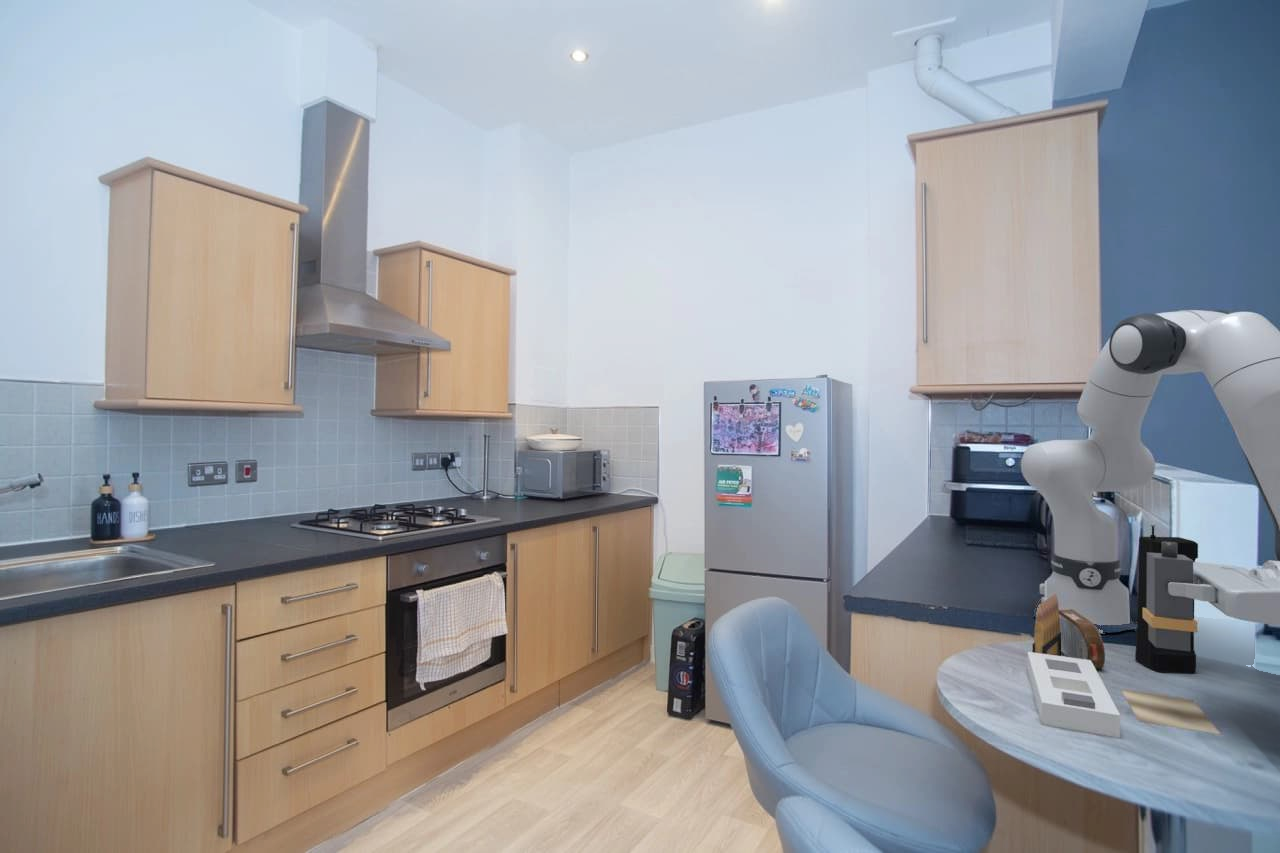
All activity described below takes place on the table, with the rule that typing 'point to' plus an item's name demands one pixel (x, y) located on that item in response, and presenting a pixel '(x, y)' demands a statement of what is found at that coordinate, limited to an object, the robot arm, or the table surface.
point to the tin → (1081, 638)
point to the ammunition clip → (1047, 628)
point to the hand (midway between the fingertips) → (1161, 583)
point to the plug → (1169, 600)
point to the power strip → (1076, 686)
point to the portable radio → (1144, 648)
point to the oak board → (1168, 711)
